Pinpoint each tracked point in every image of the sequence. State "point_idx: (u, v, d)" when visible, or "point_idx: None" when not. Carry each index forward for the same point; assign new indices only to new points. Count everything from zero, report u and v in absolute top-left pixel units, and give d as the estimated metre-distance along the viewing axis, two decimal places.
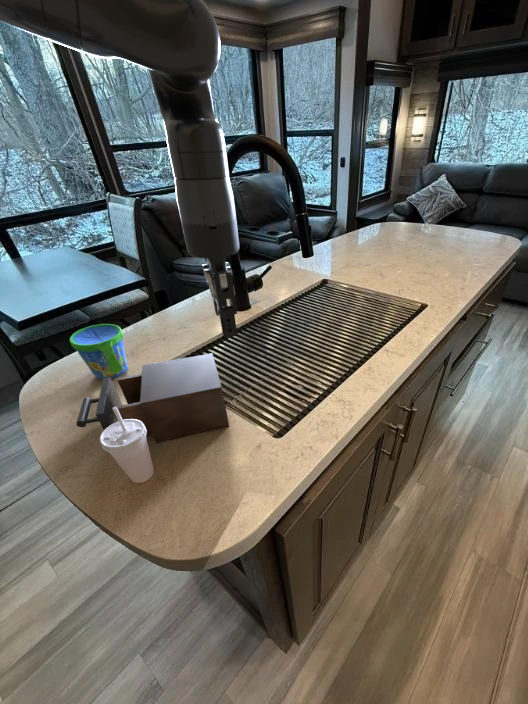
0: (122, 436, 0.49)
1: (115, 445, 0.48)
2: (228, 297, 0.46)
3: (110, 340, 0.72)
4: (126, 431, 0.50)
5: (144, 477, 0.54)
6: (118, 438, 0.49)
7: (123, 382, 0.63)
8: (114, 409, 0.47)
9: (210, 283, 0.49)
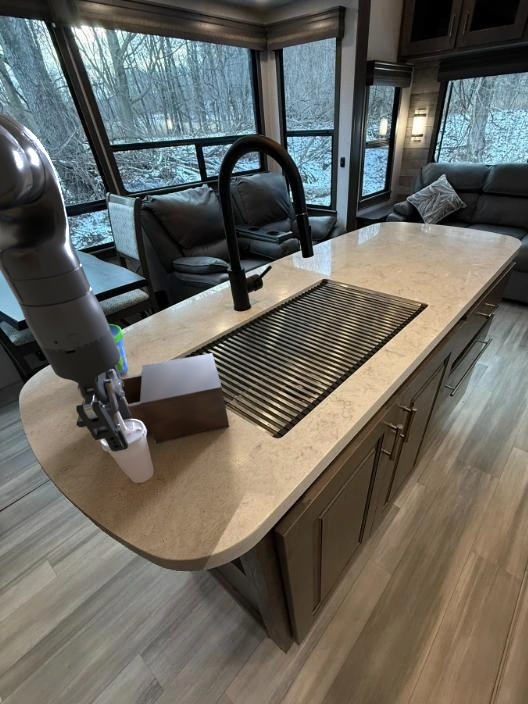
0: None
1: None
2: (101, 425, 0.41)
3: None
4: (126, 431, 0.50)
5: (144, 477, 0.54)
6: None
7: None
8: None
9: None
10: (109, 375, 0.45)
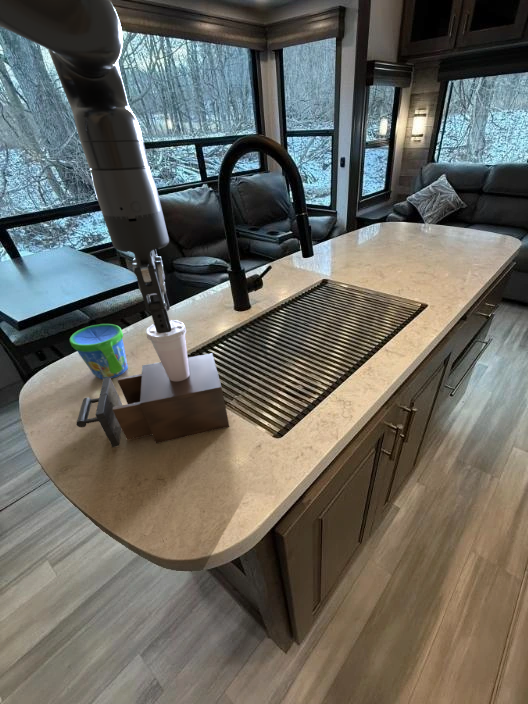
0: None
1: (160, 335, 0.54)
2: (153, 292, 0.45)
3: (110, 340, 0.72)
4: None
5: (182, 375, 0.60)
6: None
7: (123, 382, 0.63)
8: None
9: None
10: (157, 261, 0.50)
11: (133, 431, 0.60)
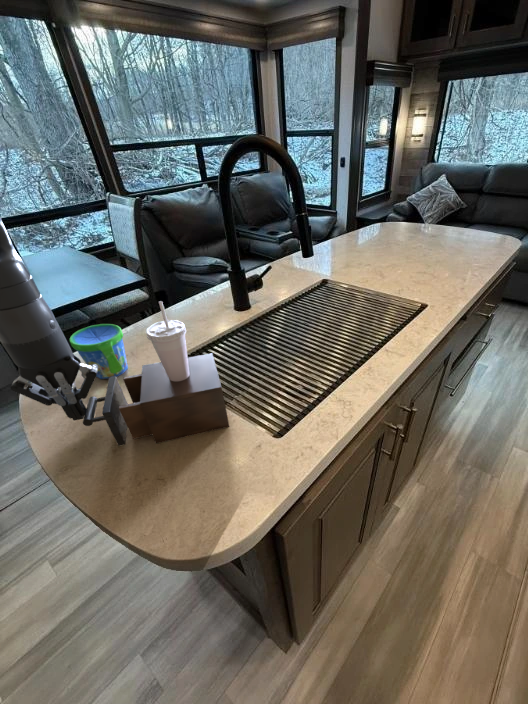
0: (166, 330, 0.55)
1: (160, 335, 0.54)
2: None
3: (110, 340, 0.72)
4: (169, 327, 0.55)
5: (182, 375, 0.60)
6: (162, 331, 0.54)
7: (129, 381, 0.63)
8: (160, 302, 0.53)
9: None
10: (54, 373, 0.53)
11: (139, 430, 0.60)
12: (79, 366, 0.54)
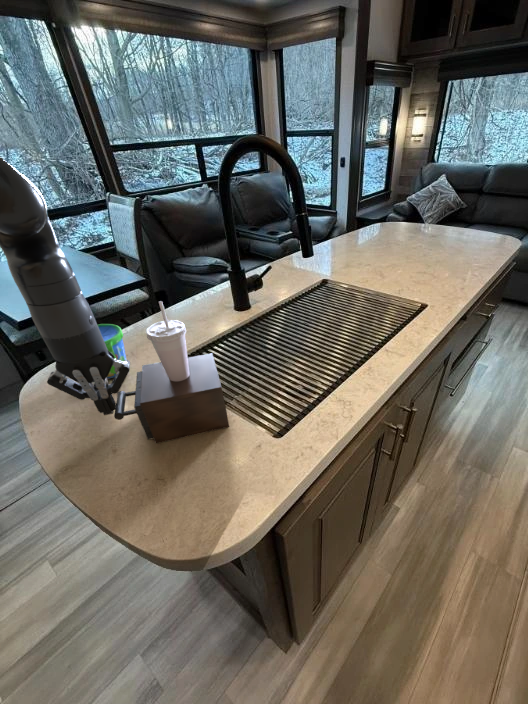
0: (166, 330, 0.55)
1: (160, 335, 0.54)
2: None
3: (110, 340, 0.72)
4: (169, 327, 0.55)
5: (182, 375, 0.60)
6: (162, 331, 0.54)
7: None
8: (160, 302, 0.53)
9: None
10: (90, 368, 0.54)
11: None
12: (113, 361, 0.56)
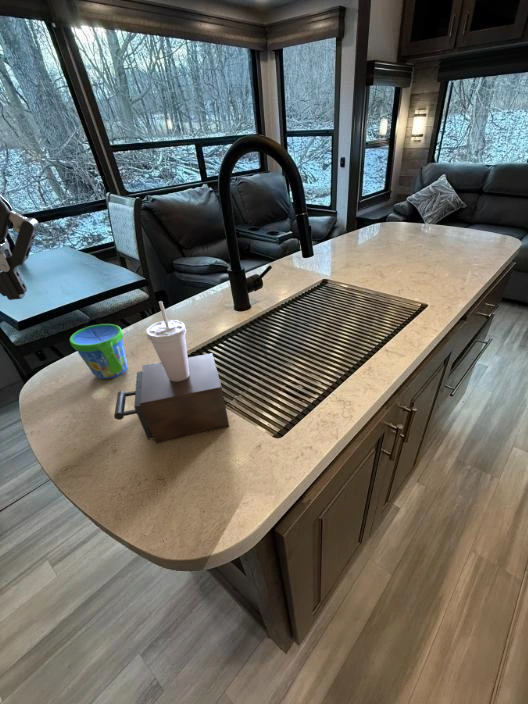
0: (166, 330, 0.55)
1: (160, 335, 0.54)
2: None
3: (110, 340, 0.72)
4: (169, 327, 0.55)
5: (182, 375, 0.60)
6: (162, 331, 0.54)
7: None
8: (160, 302, 0.53)
9: None
10: None
11: None
12: (9, 212, 0.41)
